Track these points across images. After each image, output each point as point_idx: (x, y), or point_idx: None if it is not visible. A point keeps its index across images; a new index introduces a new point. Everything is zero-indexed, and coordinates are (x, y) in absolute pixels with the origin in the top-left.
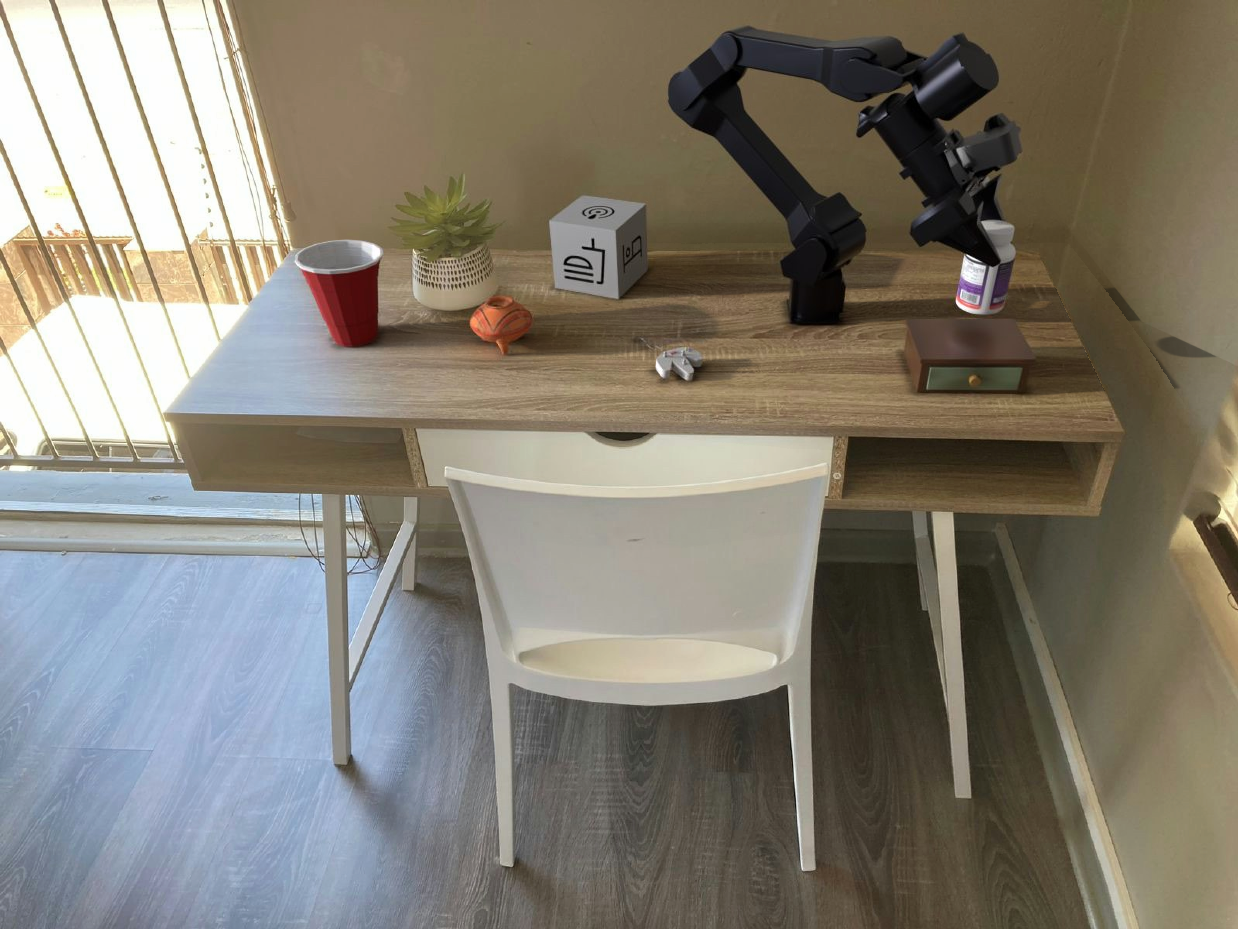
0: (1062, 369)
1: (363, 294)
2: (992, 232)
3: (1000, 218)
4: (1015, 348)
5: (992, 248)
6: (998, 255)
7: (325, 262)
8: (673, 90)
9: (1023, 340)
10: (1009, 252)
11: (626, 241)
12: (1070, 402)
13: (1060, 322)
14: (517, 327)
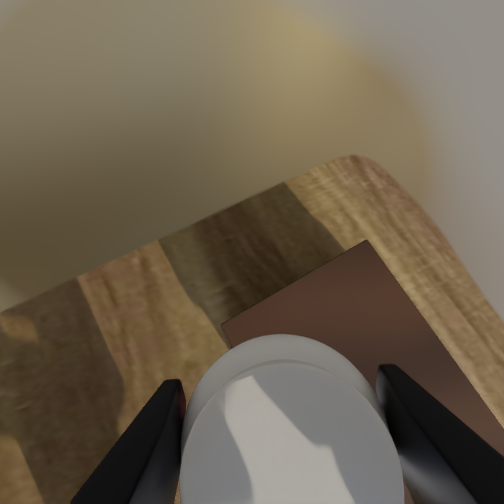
0: (241, 235)
1: None
2: (391, 472)
3: (132, 494)
4: (348, 284)
5: (452, 417)
6: (399, 380)
7: None
8: None
9: (306, 280)
10: (315, 351)
11: None
12: (334, 201)
13: (78, 277)
14: None
